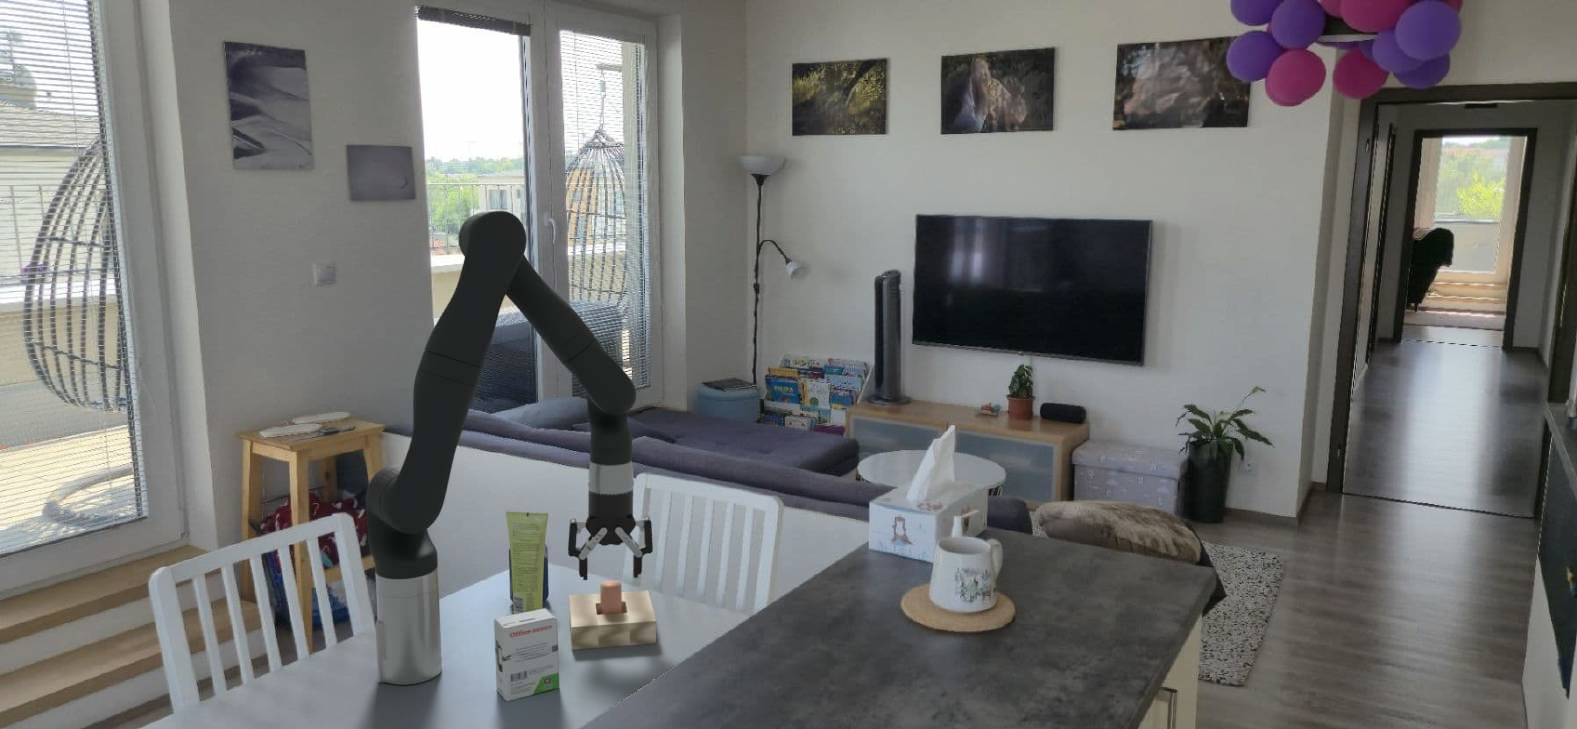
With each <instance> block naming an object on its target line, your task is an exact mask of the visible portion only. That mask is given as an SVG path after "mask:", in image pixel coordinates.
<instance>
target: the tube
mask: <svg viewBox="0 0 1577 729" xmlns="http://www.w3.org/2000/svg"><path fill="white" fill-rule="evenodd" d="M505 518H506V522H507V529H508V540H509V549H510V552H511V566H512V583H513V602H512V603H513V606H512V607H513V615H515V614H520V613H525V612H530V611H535V610H539V609H543V605H542V599H543V571H544V552H545V544H546V538H547V527H548V520H549V512H531V511H529V512H527V511H511V510H510V511H509V510H506V511H505Z"/></svg>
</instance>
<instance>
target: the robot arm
mask: <svg viewBox="0 0 1577 729" xmlns="http://www.w3.org/2000/svg"><path fill="white" fill-rule="evenodd" d="M458 232H459V233H458V245H459V249H460V252H461V253H462V255H463V257H464V258H463V264H462V267H461V271H460V275H459V278H458V281H457V285H456V287H455V289H454V291H453V294H452V297H451V298H450V300H449V302H448V303H447V304H446V306H445V308H444V310H443V312H442V313H441V314H440V317H439V319H438V320H437V322H436V324H435V325H434V327H433V329H432V331H431V333H430V335H429V337H428V340H427V342H426V344H425V347H424V350H423V353H422V355H421V359H420V360H419V361H420V362H419V363H418V364H419V365H418V368H417V371H416V374H415V378H414V382H413V390H412V391H413V394H412V395H413V396H412V406H413V407H412V410H413V418H412V419H413V421H412V432H411V433H412V434H411V440H410V443H409V446H408V449H407V451H406V452H407V453H406V455H405V459H404V460H403V463H402V464H390V465H387V466H385V467H383V468H381V469H380V470H378V471H377V472H376V473H375V474H374V475H373V476H372V478H371V480H369V484H368V486H367V489H366V494H365V510H366V511H365V513H366V526H367V534H368V537H367V538H368V546H369V551H370V553H371V555H372V559H373V561H374V571H375V587H376V588H375V589H376V590H375V592H376V610H377V620H376V623H375V642H376V643H375V645H376V664H377V666H376V667H377V682H378V683H388V684H392V685H397V686H399V685H403V686H404V685H415V684H420V683H424V682H427V681H430V680H431V679H434V678H435V677H437V676H438V675H439V674H441V672H442V669H443V667H442V666H443V665H442V664H443V663H442V662H443V661H442V660H443V655H442V637H441V612H440V611H441V610H440V586H439V566H438V564H439V563H438V562H439V559H438V550H437V548H436V546H435V544H434V543H433V541H432V539H431V537H430V534H429V532H428V529H429V528H431V526H432V525H433V524H434V523H435V521H437V519H438V517H439V516H440V514H441V512H442V509H443V506H444V503H445V499H446V495H447V490H448V486H449V482H450V477H451V473H452V468H453V463H454V459H455V455H456V454H455V453H456V451H457V448H458V444H459V441H460V438H461V435H462V432H463V429H464V426H465V423H466V420H467V417H468V413H469V411H470V407H471V404H472V402H473V399H474V396H475V394H476V391H477V388H478V385H479V383H480V380H481V376H482V374H483V370H484V367H485V363H486V361H487V357H488V353H489V350H490V347H491V343H492V340H493V337H494V334H495V330H496V325H497V323H498V319H499V314H500V311H501V308H502V305H503V302H504V299H505V297H507V298H508V299H509V300H510V301H511V303H513V304H514V306H515V307H516V308H517V309H518V310H519V311H520V312H521V314H522V315H523V316H524V318H525V319H526V320H527V321H528V322H529V323H530V326H532V328H534V330H535V331H536V332H537V334H538V335H539V336H540V338H541V339H542V340H543V342H544V344H546V345H547V346H548V348H549V349H550V350H551V352H552V353H553V354H554V355H555V357H556V358H557V359H558V360H559V361H560V363H561V364H562V365H563V367H564V368H566V370H568V372H570V373H571V374H572V375H573V376H575V378H576V379H577V380H578V382H579V383H580V384H581V386H582V387H583V388H584V390H585V391H586V399H587V400H586V403H587V404H586V405H587V412H588V420H589V421H588V422H589V427H590V429H589V430H590V440H589V441H590V442H589V469H588V480H587V481H588V482H587V487H588V492H587V493H588V496H587V497H588V501H587V502H588V505H587V506H588V508H587V509H588V510H587V511H588V513H587V519H586V520H577V519H576V518H571V519H570V520H569V526H568V528H569V530H568V543H567V554H568V556H569V557H574V558H577V560H578V575H579V577H580V578H582V579H583V581H588V569H589V568H588V562H589V561H588V556H589V554H590V553H591V552H592V551H593V550H594V549H595V548H596V546H598V544H599V545H601V546H602V547H603V546H604V547H606V546H609V545H613V546H620V545H621V544H624V545H626V547H627V548H628V549H629V551H631V552H632V563H633V564H632V576H633V579H638V578H639V575H641V574H642V572H643V557H644V556H645V555H647V554H651V553H652V554H653V551H654V549H653V548H654V546H653V527H652V526H653V524H652V520H651V517H650V516H649V515H646V516H644V517H643V518H635V517H634V485H635V481H634V469H633V461H632V460H633V437H632V431H631V429H630V426H629V423H628V412H629V411H630V410H631V409H632V408H633V406H634V405H635V402H636V400H637V390H636V385H635V384H634V381H632V379H631V377H629V376H628V374H627V373H626V372H625V370H623V368H622V367H621V366H620V365H619V363H617V362H616V360H614V358H613V357H612V356H611V355H610V354H609V353H608V351H606V350H605V348H604V347H603V345H602V344H601V342H600V340H599V339H598V338H597V336H596V335H595V334H594V333H593V331H592V330H591V329H590V328H589V326H588V325H587V324H586V323H585V321H584V320H583V318H582V317H581V316H580V315H579V314H578V313H577V311H575V309H574V308H573V307H572V306H571V305H570V304H569V303H568V302H567V301H565V299H563V297H561V296H560V294H558V293H557V292H556V291H555V290H554V289H553V288H552V287H550V286H549V284H548V283H547V282H546V281H545V280H544V279H543V278H542V276H540V274H539V273H538V272H537V271H536V270H535V268H534V267H533V266H532V265H531V263H530V262H529V260H528V258H527V256H526V255H525V253H526V249H527V243H528V242H527V240H528V238H527V232H526V229H525V227H524V224H523V222H522V221H521V220H520V219H519V217H517V215H515V214H513V212H512V213H511V212H509V211H507V210H504V209H490V210H486V211H481V212H478V213H476V214H472V215H471V216H469V217H468V218H467V219H466V220H465V221H464V222H463V223H462V225H461V227H460V229H459V231H458ZM636 527H638V528H639V530H640V532H643V538H644V539H643V540H644V542H643V543H644V544H642V545H639V544H638V542H637V541H636V540H635V538H634V537H633V535H631V533H632V532H633V531H634V529H635V528H636ZM584 528H585V529H586V530H587V532H588V534H589V536H588V537H587V538H586V540H585V542H584V543H583V545H582V546H581V547H577V535H579V534H581V533H582V531H583V529H584Z"/></svg>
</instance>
